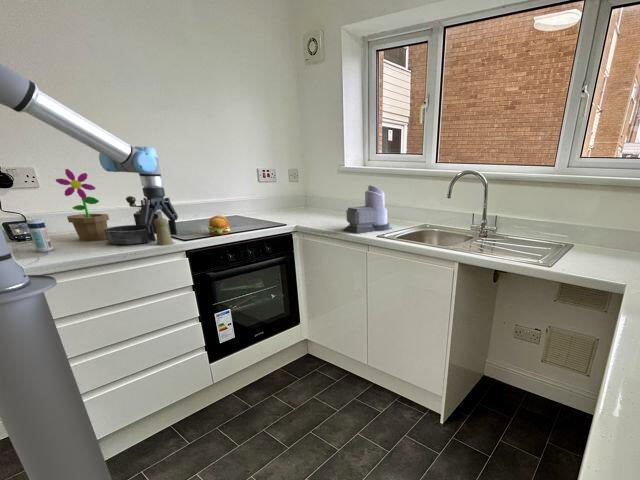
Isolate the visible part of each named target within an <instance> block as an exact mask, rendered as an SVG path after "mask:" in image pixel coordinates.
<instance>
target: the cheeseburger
mask: <svg viewBox="0 0 640 480" xmlns="http://www.w3.org/2000/svg"><path fill="white" fill-rule="evenodd" d="M208 222H209V224H208V226H207V229H208V232H209V234H210V235H213V236H215V235H217V236H219V235H221V236H222V235H228V234H229V233H230V232H231V228H230V226H231V225H230V222H229V220H227V218H226V217H225V216H223V215H218V214H217V215H214V216H211V217H210V218H209V221H208Z"/></svg>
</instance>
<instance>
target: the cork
mask: <svg viewBox="0 0 640 480" xmlns="http://www.w3.org/2000/svg"><path fill="white" fill-rule="evenodd" d="M153 223H154V225H155V226H156V232H155V235H156V244H157V246H169V245H170V246H171V245H173V244H174V242H173V238H172V235H171V233H170V229H169V224H168V219H166V218H163V217H162V218H158V219H155V220H154V221H153Z"/></svg>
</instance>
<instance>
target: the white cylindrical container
mask: <svg viewBox="0 0 640 480" xmlns="http://www.w3.org/2000/svg"><path fill="white" fill-rule="evenodd" d="M26 226H27V228H28V231H29V234H30V237H31V240H32V243H33V245H34V249H35V251H36V252H39V253H45V252H46V253H47V252H51V251H52V250H54V247H53V245H52V241H51V239H50V235H49V233H48V230H47V226H46V224H45V221H44V220H42V219H41V218H33V219H26Z"/></svg>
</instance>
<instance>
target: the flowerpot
mask: <svg viewBox="0 0 640 480" xmlns="http://www.w3.org/2000/svg"><path fill="white" fill-rule="evenodd" d="M64 171H65V173H64V174H65V176H66V177H67V179H66V178H56V179H55V182H56V183H58V184H60V185H63V186H69V187H67V188H66V189H65V190H64V194H63V195H64V196H65V197H68V196H72V195H73V194H74V192H75V190H76V193H77V194H78V196H79V197H80V199H81V202H82V204H78V205H74V206H73V207H72V206H71V208H72V210H75V211H76V210H77V211H83V210H84V211H85V213H81V214H80V213H79V214H71V215H67V217H66V218H67V221H68V223H71V224H72V225H73V228H74V230H75V232H76V234H77V236H78V238H79V240H80V241H81V242H95V241H102V240H107V238H106V235H105V231H104V230H105V229H106V228H108V222H107V221H110V217H109V215H108V213H89V210H88V206H87V204H89V205H96V204H98V203H99V202H100V200H99V199H97V198H96V197H94V196H93V197H92V196H87V194H86V192H85V191H84V190H86V191H87V190H88V191H94V190H96V186H94V185H92V184H89V183H83V182H85V181H86V180H87V179H88V173H87V172H82V173H80V174H79V175H78V176H77V179H76V176H75V174H74V173H73V172H72V171H71V170H70V169H69V168H65V169H64ZM68 179H69V180H68ZM83 189H84V190H83Z"/></svg>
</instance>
